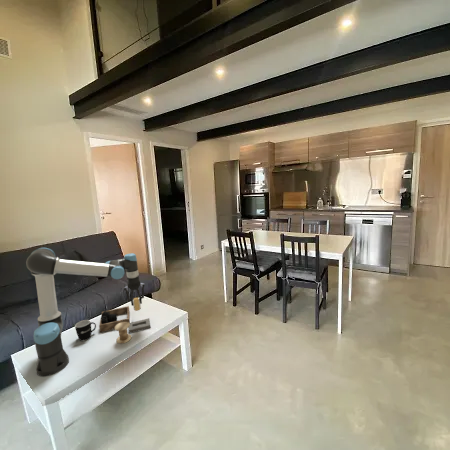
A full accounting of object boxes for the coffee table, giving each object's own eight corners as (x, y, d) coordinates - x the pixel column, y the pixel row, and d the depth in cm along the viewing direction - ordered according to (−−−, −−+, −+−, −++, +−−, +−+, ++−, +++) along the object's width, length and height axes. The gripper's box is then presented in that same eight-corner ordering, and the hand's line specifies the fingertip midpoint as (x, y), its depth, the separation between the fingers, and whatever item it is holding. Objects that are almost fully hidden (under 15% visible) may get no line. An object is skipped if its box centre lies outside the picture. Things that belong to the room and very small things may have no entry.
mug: (79, 343, 162) (77, 329, 160) (75, 338, 168) (73, 324, 166) (99, 334, 170) (97, 320, 168) (94, 330, 176) (92, 316, 174)
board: (129, 333, 169) (128, 330, 169) (129, 325, 179) (128, 323, 178) (150, 327, 174) (150, 325, 174) (149, 320, 183) (149, 318, 183)
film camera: (116, 327, 178) (114, 315, 176) (101, 330, 175) (99, 318, 173) (117, 317, 192) (116, 306, 191) (103, 320, 189) (102, 309, 187)
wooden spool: (116, 345, 157) (114, 331, 155) (116, 337, 165) (114, 323, 164) (131, 341, 160) (129, 327, 159) (131, 333, 168) (129, 320, 167)
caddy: (100, 332, 173) (99, 325, 172) (103, 317, 192) (102, 311, 191) (129, 325, 179) (128, 318, 178) (129, 311, 199) (128, 306, 198)
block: (135, 309, 175) (133, 298, 174) (139, 308, 176) (138, 297, 175) (135, 311, 172) (133, 299, 171) (139, 309, 173) (138, 298, 172)
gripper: (120, 280, 164) (124, 314, 168) (145, 275, 170) (149, 308, 173) (120, 276, 171) (125, 309, 175) (145, 272, 177) (149, 303, 180)
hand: (137, 308), depth 174 cm, fingers closed on block, 3 cm apart
